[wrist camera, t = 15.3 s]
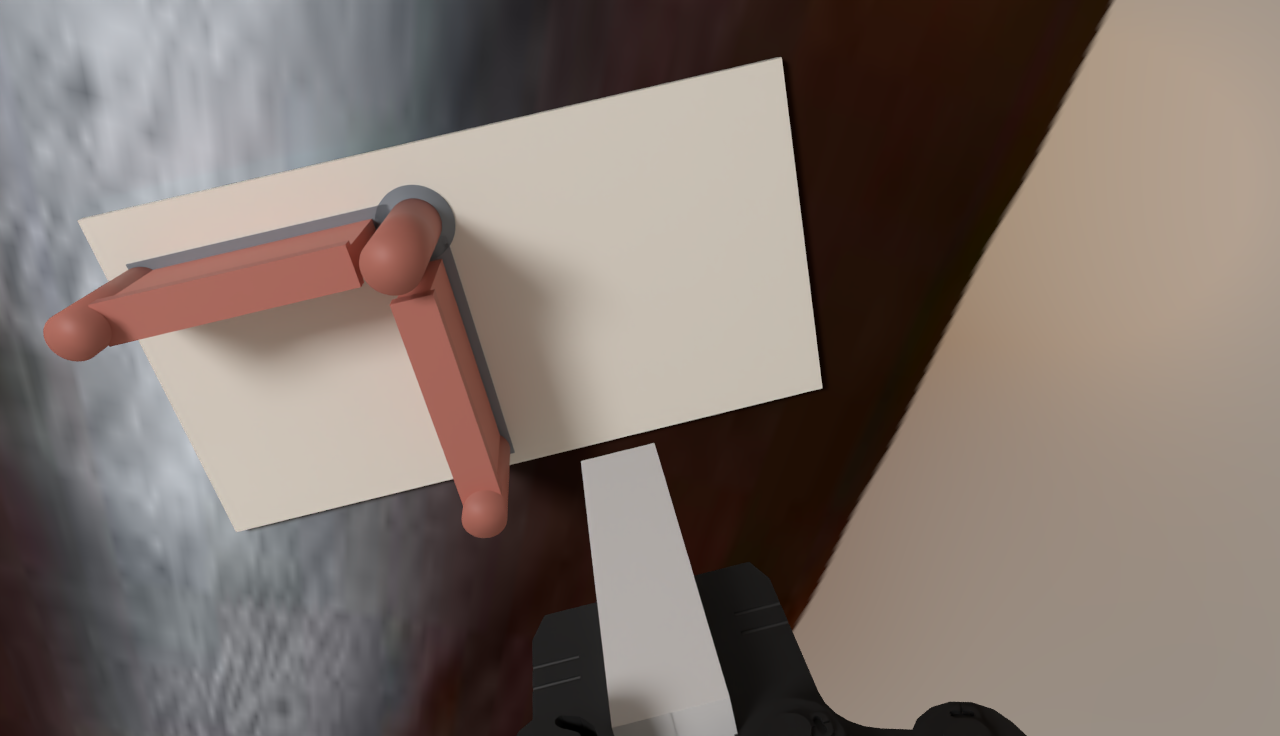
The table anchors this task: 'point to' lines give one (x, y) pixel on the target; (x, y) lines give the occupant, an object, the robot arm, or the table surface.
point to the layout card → (500, 291)
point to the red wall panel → (456, 399)
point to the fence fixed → (250, 281)
